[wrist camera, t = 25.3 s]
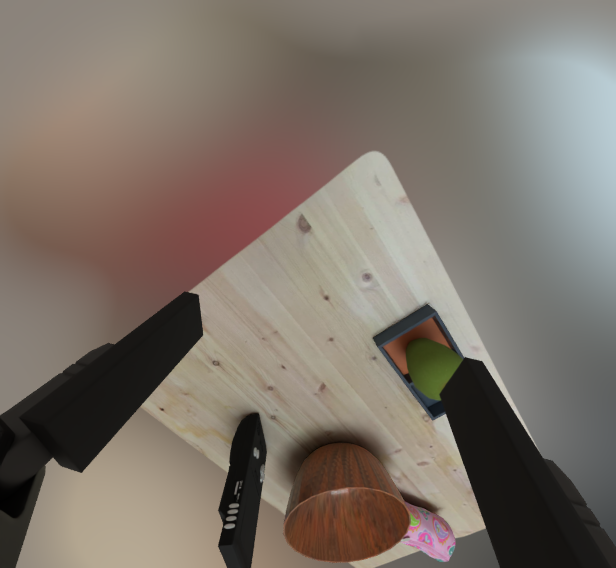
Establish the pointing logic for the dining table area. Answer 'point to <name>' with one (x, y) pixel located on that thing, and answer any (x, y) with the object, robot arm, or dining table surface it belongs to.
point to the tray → (397, 340)
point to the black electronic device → (242, 493)
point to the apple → (430, 365)
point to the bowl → (344, 506)
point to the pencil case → (429, 534)
